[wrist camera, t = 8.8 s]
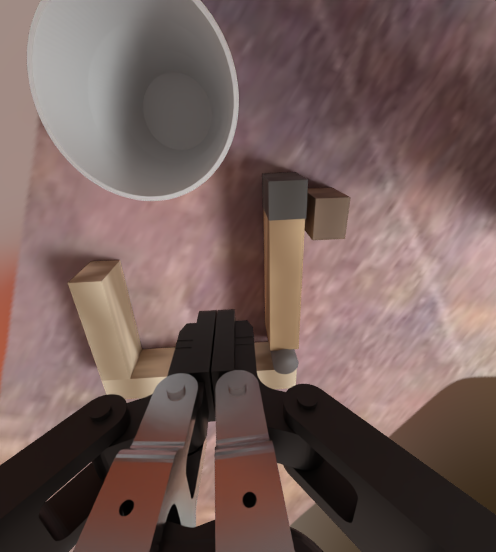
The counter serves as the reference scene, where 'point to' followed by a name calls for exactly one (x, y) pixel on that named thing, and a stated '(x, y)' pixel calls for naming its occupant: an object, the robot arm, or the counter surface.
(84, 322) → the jointed wooden sticks
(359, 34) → the counter surface
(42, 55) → the cup
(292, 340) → the leg
